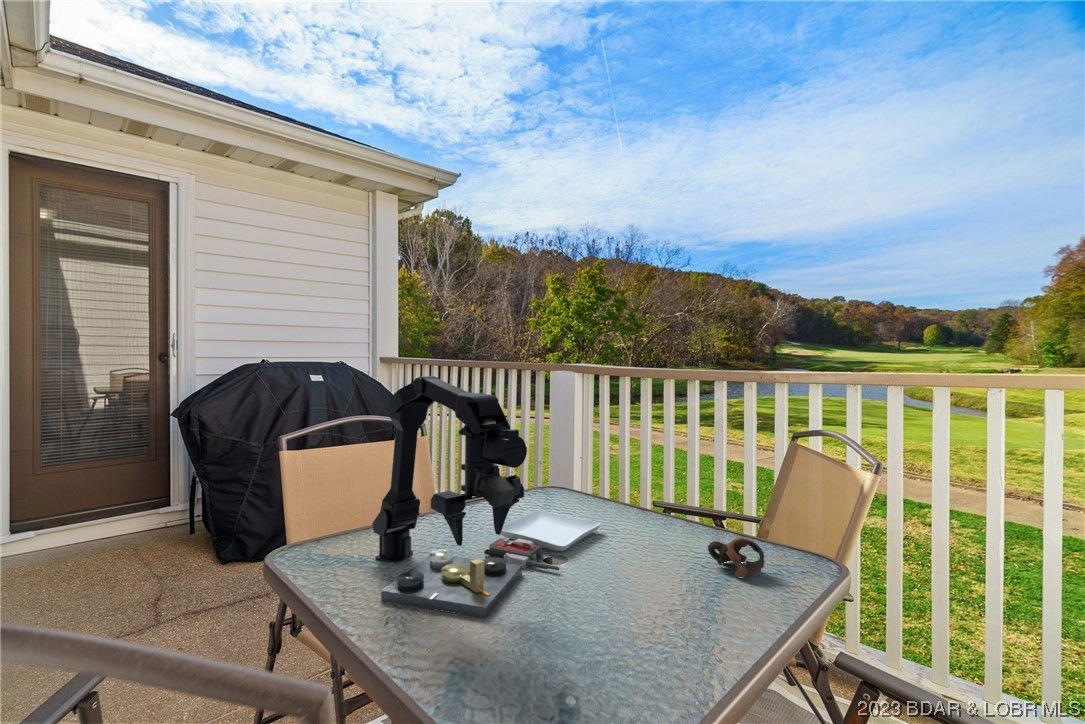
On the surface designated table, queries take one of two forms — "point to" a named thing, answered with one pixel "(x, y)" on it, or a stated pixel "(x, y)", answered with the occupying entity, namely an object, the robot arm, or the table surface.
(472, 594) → the instrument base
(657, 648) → the table surface
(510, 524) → the salad plate
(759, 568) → the pottery mug
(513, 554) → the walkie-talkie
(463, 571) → the brass knob
